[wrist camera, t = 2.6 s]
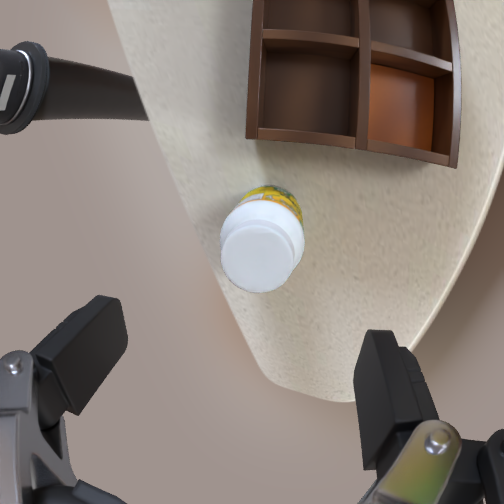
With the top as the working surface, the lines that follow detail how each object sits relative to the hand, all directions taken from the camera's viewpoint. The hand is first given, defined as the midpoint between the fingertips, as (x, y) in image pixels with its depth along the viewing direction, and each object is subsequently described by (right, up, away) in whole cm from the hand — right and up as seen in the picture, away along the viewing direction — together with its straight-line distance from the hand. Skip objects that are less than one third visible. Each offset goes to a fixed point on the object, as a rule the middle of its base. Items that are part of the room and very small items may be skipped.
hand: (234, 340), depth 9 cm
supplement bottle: (+2, +6, +16) cm, 17 cm away
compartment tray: (+9, +18, +10) cm, 23 cm away
